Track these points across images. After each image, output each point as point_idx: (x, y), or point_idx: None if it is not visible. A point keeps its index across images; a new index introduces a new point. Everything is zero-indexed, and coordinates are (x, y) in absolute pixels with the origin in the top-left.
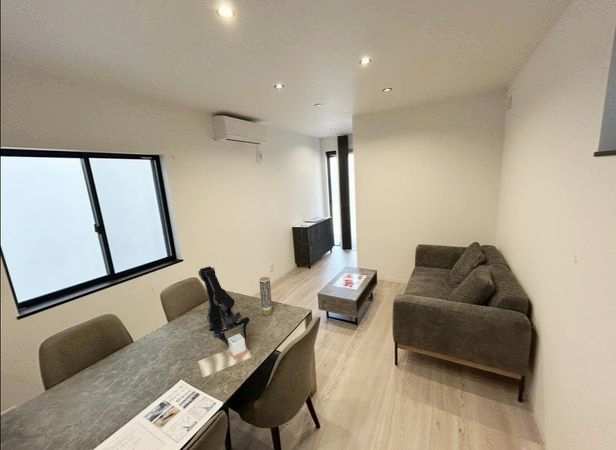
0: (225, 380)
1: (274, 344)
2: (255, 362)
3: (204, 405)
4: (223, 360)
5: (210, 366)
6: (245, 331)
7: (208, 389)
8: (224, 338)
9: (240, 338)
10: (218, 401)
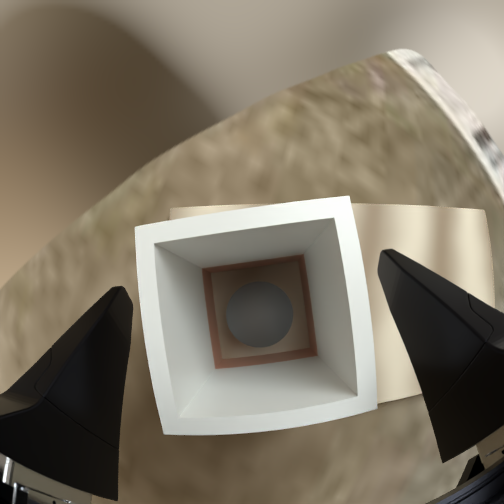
0: (379, 129)
1: (29, 267)
2: (174, 166)
3: (444, 80)
4: (381, 295)
5: (456, 281)
6: (54, 349)
7: (448, 133)
8: (485, 316)
9: (182, 350)
10: (401, 61)
